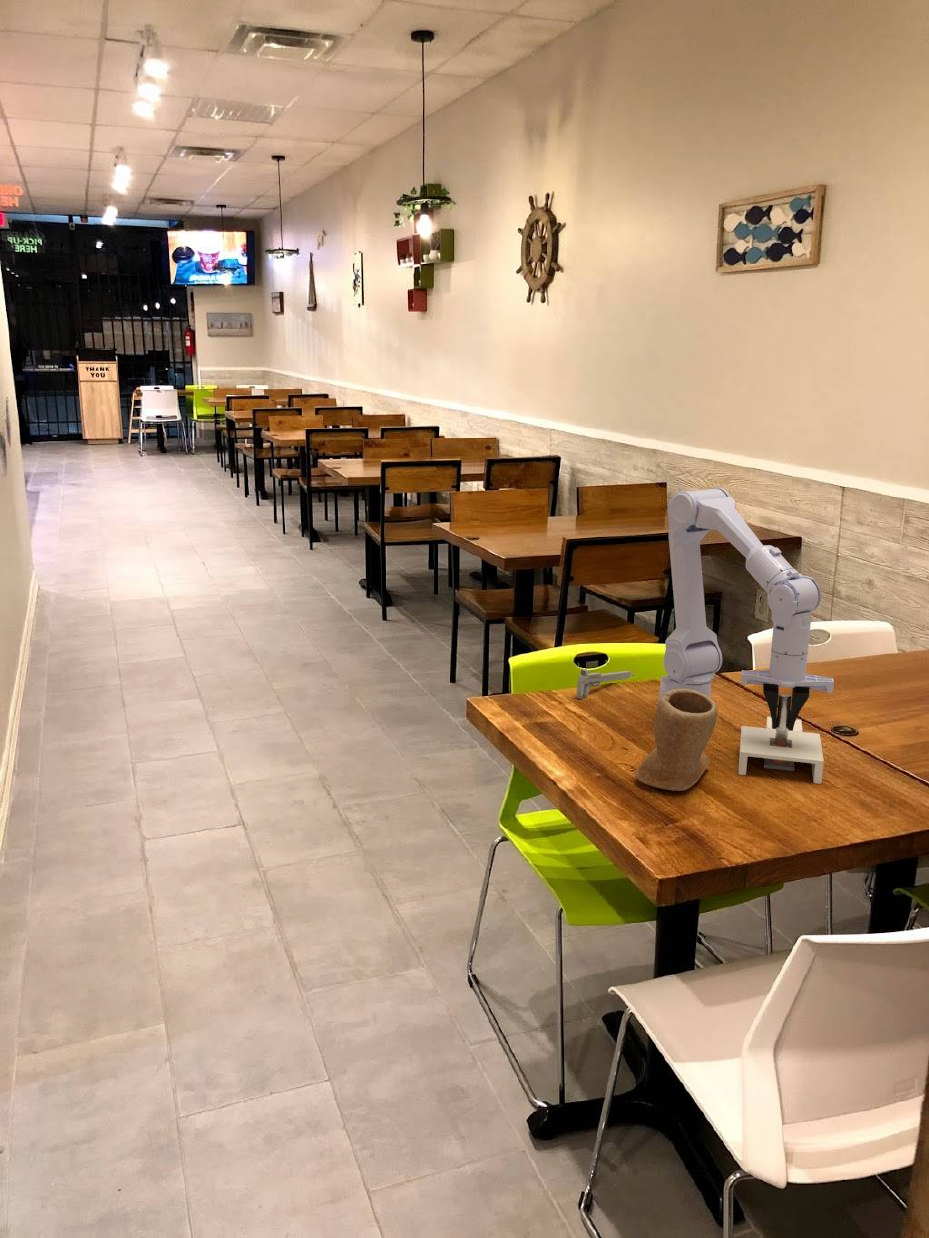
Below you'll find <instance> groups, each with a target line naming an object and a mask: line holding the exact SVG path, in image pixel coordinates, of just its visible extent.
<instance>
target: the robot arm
mask: <svg viewBox="0 0 929 1238" xmlns="http://www.w3.org/2000/svg"><path fill="white" fill-rule="evenodd" d="M736 504H737V503H736V500H735V499H734V498H733V497H731V496H730V493H729V492H728V491H727V490H726V489H725V488H722V487H714V488H709V489H707V488H706V489H700V490H699V489H698V490H690V491H689V490H688V491H687V490H681V491H680V490H679V491H678V492H676V493H675V494H674V496H673V497H672V498H671V500H669V502H668V504H667V517H668V543H669V556H670V568H671V581H672V591H673V592H672V593H673V605H674V616H675V629H674V630H673V631H672V633H670V635H669V636H668V637H667V638H666V640H665V641H664V642H665V650H664V655H663V668H664V670H665V672H666V674H667V675H662V676H661V678H660V684H659V685H660V686H659V693H658V695H659V696H658V702H659V701H660V699H661V698H662V696H663V695H664V694H665V693H667V692H668V691H670V690H674V689H690V690H695V691H698V692H701V693H703V694H705V695H706V696H708V697H710V698H711V691H712V690H711V689H712V679H715V674H716V673H717V672H719V670H720V669H721V667H722V665H723V654H722V650H721V648H720V647H719V643H718V635H717V633H715V631H712V630H711V629H710V628H709V627H708V626H707V620H706V619H707V618H706V608H705V607H706V606H705V591H704V581H703V580H704V579H703V568H702V555H701V545H700V544H701V541H702V540H703V538H705V536H706V535H707V534H708V533H709V532H710V531H711V530H715V531H718V533H720V534H721V535H722V536H723V538H725V539H726V540H727V541H728V542H729V543H730V544H731V545H732V546H733V547H734V548H735V549H736V550H737V551H738V552H739V553H741V555H742V556H744V558H745V569H746V571H748V573H749V574H750V575H751V577H752V578H753V579H754V580H755V581H756V582H757V583H758V584H759V586H760V587H761V588H762V589H763V590H764V592H765V593H766V594H767V603H768V607H769V610H770V611H771V621H772V624H773V626H772V636H771V649H770V650H771V651H770V659H769V660H770V661H769V670H768V669H767V670H743V669H742V670H741V674H740V675H741V676H740V685H741V686H742V685H743V686H747V685H758V686H762V693H763V696H764V697H765V700H766V702H767V706H768V709H769V710H768V711H769V712H770V713H769V714H770V717H771V719H772V729H776V728H777V711H778V701H779V695H780V694H779V690H780V688H789V689H790V688H791V691H792V692H791V708H790V718H789V727H788V730H789V731H793V727H794V724H795V721H796V719H797V718H798V716H799V714H800V712H801V710H802V709H803V707H804V706H805V704H806V702H807V701H808V699H809V698H810V690H812V691H821V692H822V691H823V692H826V693H830V694H833V693H834V687H835V686H834V685H835V681H834V678H833V677H827V676H820V675H815V674H808V673H806V672H807V665H808V664H807V662H808V656H809V655H808V653H809V645H810V633H811V625H812V623H811V622H812V615H813V613H812V612H813V611H815V610H816V609H818V608H819V605H820V603H821V601H822V592H821V588H820V586H819V584H818V583H817V581H816V580H815V578H813V577H811V576H809V575H808V576H807V575H803V574H802V573H801V572H799V571H798V570H797V569H795V568H794V567H793V566H792V565H791V564H790V563H789V562H788V561H787V560H786V558H785V557H784V556H783V555H782V551H781V550H780V549H779V548H778V547H777V546H776V547H775V546H773V545H770V544H768V545H765V544H763V543H762V542H761V541H760V539H759V538H758V537H757V535H756V534H755V533H754V531H753V530H752V529H751V528H750V526H749V525H748V523H747V522H746V521H745V520H744V519H743V517H742V516H741V515H740V514H739V512H738V511H737V505H736ZM779 687H780V688H779Z"/></svg>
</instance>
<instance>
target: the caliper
mask: <svg viewBox="0 0 929 1238" xmlns="http://www.w3.org/2000/svg"><path fill="white" fill-rule="evenodd" d="M589 671H590V670H589V669H586V668H584V669H580V674H579V675H578V678H577V683H576V698H577V699H578V700H583V698H584V699H586V698H588V695H589V693H590V689H591V687H600V683H604V682H605V683H606V682H611V681H619V680H626V679H627V680H628V679H629V678H631V677H632V676H635V674H634V673H632V671H629V670H621V671H615V672H608V673H607V672H606V673H600V672H592V673H589Z"/></svg>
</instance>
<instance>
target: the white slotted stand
mask: <svg viewBox="0 0 929 1238" xmlns="http://www.w3.org/2000/svg"><path fill="white" fill-rule="evenodd" d="M775 733H776V729H768V728H766V727H756V726H746V725H741V727H740V740H739V741H740V742H739V756H738V757H739V758H738V772H737V773H738V775H739V776H740V775H743V776H746V775H747V767H748V766H747V764H748V757H752V758H760V759H761V758H762V759H764V758H768V759H777V760H786V761H794V763H795V762H796V763H799V762H800V763H806V764H810V765H811V773H812V781H813V784H818V785H819V784H820V785H821V784H822V782H823V780H822V779H823V773H824V772H823V771H824V761H825V760H824V754H823V753H824V752H823V749H822V748H823V747H822V746H823V745H822V741H821V735H820V733H815V732H807V731H806V732H805V731H803V732H797V731H788V739H787V746H788V747H789V748H788V747H779V746H772V745H773V744H775Z"/></svg>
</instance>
